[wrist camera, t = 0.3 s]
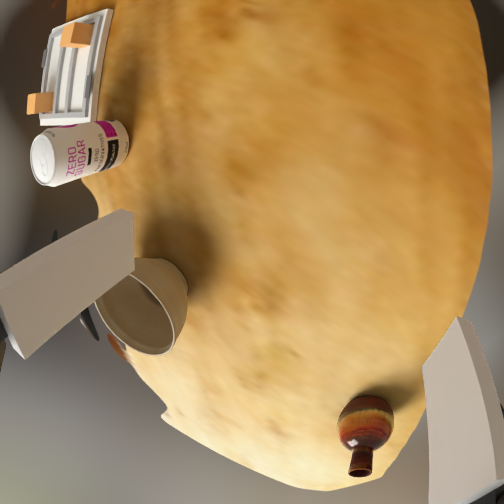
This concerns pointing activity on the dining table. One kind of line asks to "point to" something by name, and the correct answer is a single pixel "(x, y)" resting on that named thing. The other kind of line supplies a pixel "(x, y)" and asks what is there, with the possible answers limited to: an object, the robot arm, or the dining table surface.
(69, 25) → the orange block
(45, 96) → the tab
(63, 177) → the supplement can
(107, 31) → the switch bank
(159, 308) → the planter bowl
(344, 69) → the dining table surface
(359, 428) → the vase
